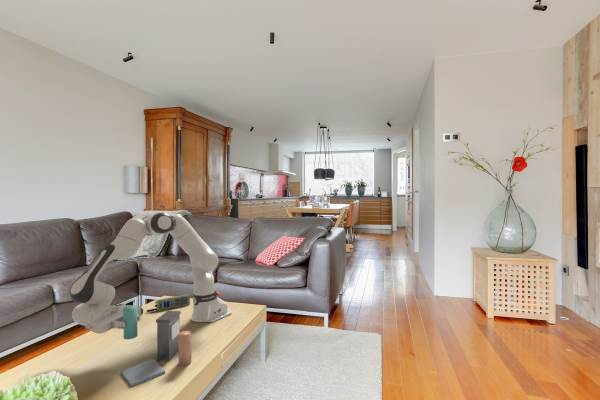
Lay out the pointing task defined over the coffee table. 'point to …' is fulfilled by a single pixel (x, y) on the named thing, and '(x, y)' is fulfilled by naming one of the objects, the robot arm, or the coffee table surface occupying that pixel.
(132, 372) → the mat
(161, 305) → the handheld radio
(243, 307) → the coffee table surface
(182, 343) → the terracotta canister
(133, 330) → the teal canister
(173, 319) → the block
